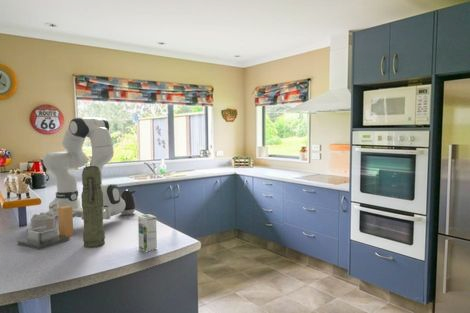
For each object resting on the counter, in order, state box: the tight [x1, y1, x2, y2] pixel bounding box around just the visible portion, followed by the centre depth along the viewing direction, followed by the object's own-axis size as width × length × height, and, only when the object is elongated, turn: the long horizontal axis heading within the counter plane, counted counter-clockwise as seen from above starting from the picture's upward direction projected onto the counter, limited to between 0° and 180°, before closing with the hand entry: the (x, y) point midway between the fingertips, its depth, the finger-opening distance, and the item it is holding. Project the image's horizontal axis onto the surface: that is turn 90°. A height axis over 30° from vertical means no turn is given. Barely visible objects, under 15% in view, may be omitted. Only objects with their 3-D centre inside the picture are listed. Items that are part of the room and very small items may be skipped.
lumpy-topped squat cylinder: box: [30, 212, 57, 230], centre depth 168 cm, size 10×13×9 cm
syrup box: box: [137, 213, 158, 253], centre depth 137 cm, size 6×6×14 cm
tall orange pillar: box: [57, 206, 74, 237], centre depth 158 cm, size 4×4×14 cm
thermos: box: [80, 165, 106, 249], centre depth 143 cm, size 9×12×35 cm
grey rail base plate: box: [17, 226, 70, 250], centre depth 148 cm, size 14×16×6 cm
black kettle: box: [120, 189, 137, 216], centre depth 200 cm, size 10×10×15 cm
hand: (76, 217), depth 163 cm, fingers open, 8 cm apart
